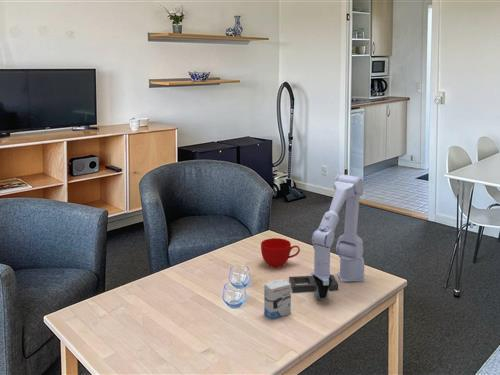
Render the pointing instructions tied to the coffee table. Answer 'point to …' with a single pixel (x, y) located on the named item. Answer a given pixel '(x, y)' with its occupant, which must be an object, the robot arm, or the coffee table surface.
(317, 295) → the block
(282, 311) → the ink box
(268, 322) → the coffee table surface
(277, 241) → the ceramic cup
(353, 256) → the robot arm
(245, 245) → the coffee table surface
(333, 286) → the dark grey double frame
